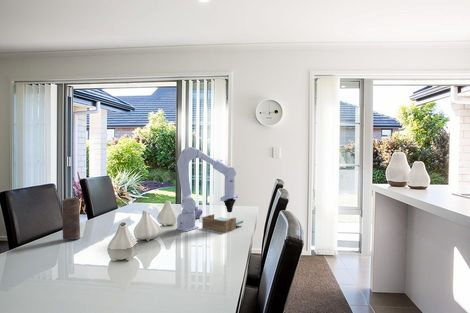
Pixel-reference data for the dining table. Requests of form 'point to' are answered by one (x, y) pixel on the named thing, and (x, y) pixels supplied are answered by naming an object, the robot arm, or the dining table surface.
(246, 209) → the dining table surface
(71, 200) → the candle
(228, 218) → the light blue panel
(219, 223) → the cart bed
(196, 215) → the flower
